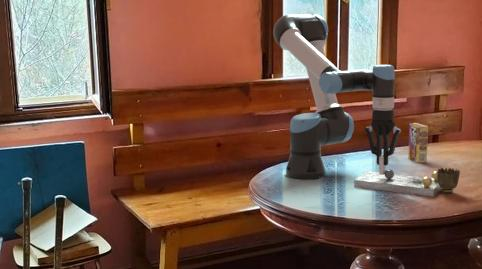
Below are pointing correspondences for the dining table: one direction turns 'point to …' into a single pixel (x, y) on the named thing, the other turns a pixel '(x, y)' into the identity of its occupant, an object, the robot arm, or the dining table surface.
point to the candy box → (418, 142)
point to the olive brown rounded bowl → (448, 179)
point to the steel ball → (389, 174)
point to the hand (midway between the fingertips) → (382, 173)
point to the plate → (397, 184)
